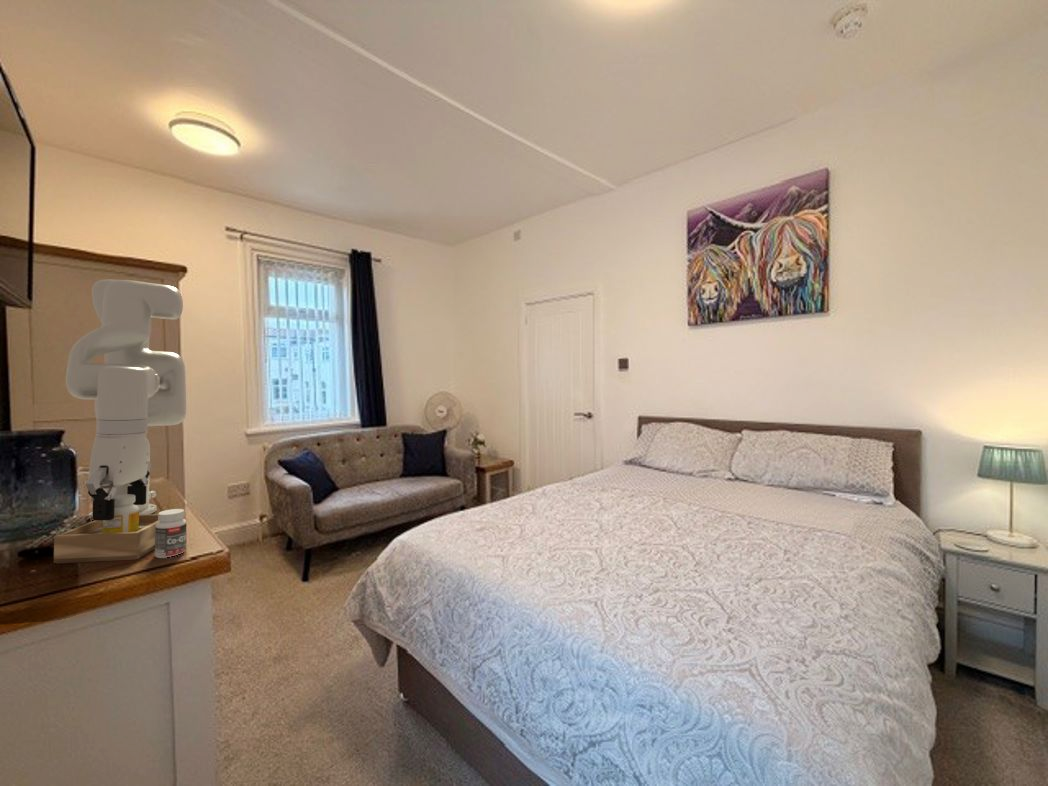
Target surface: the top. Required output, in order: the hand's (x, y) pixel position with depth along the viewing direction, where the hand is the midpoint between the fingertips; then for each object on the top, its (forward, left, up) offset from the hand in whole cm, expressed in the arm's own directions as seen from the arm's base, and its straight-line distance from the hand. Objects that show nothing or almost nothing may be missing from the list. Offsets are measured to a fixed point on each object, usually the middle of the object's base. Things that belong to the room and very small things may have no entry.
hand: (120, 511), depth 88 cm
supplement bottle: (0, 0, -7) cm, 7 cm away
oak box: (+1, 0, -7) cm, 7 cm away
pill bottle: (+5, +11, -8) cm, 15 cm away
